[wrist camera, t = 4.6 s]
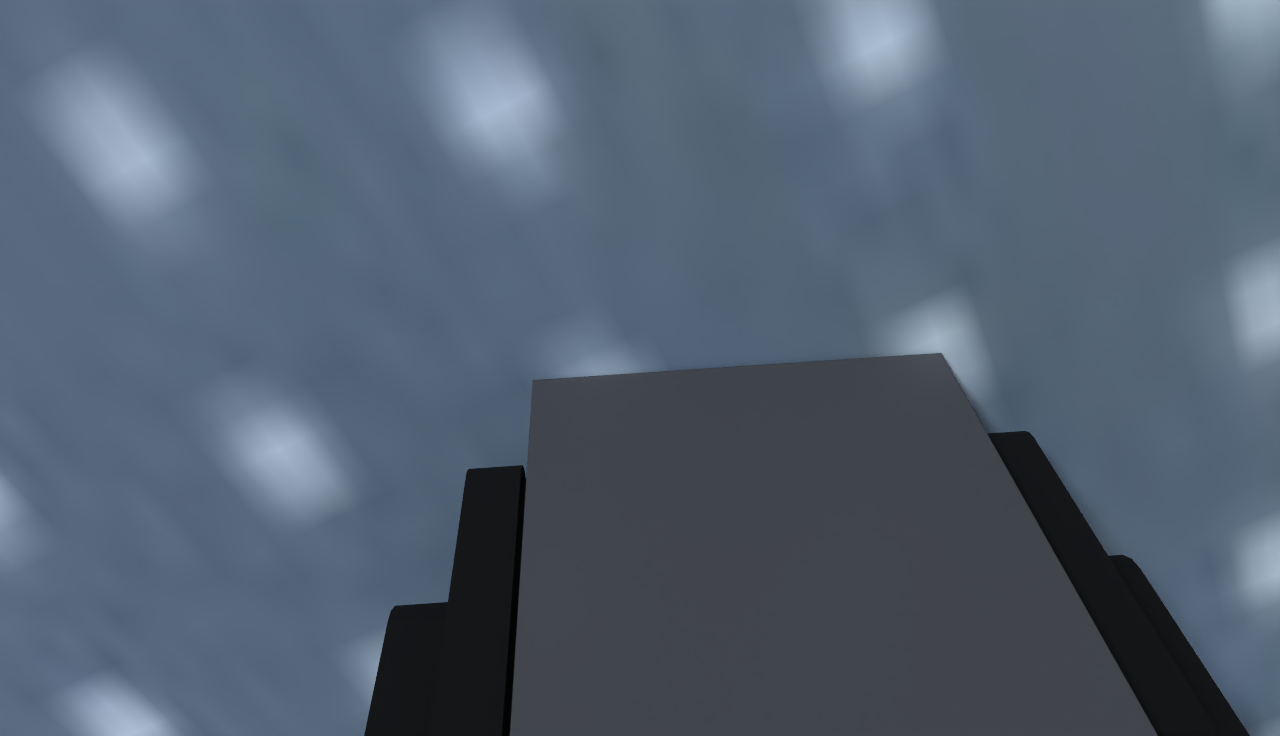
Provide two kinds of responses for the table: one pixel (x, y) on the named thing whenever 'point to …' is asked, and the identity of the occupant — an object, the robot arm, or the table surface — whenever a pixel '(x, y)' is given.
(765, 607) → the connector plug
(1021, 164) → the table surface
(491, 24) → the table surface
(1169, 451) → the table surface
